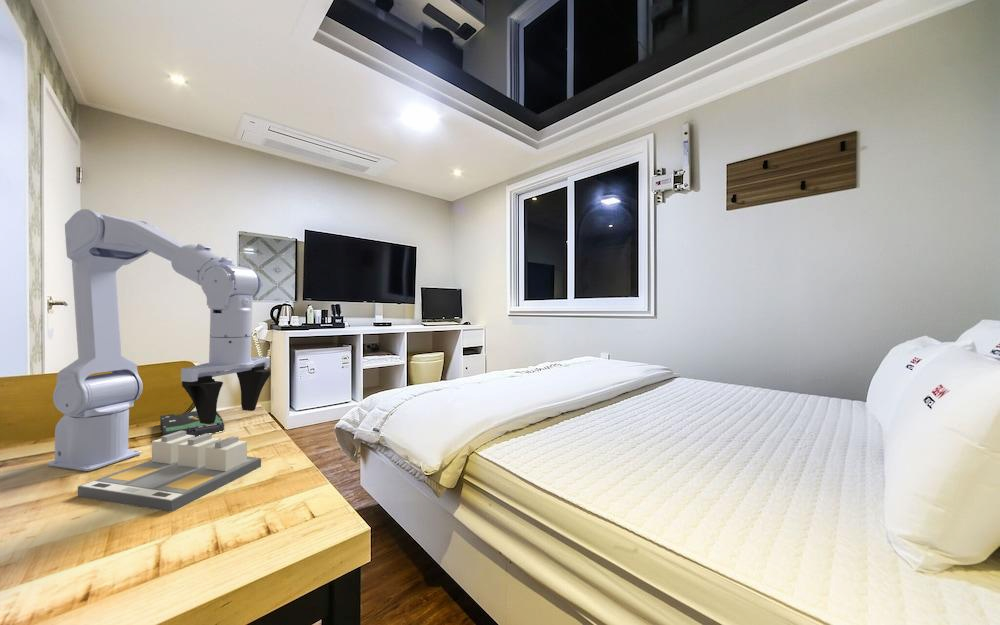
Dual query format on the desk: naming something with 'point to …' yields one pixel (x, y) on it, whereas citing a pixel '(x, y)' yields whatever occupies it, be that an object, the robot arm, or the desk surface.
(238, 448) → the tab
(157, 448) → the tab
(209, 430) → the disk drive
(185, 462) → the tab
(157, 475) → the switch panel
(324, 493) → the desk surface
